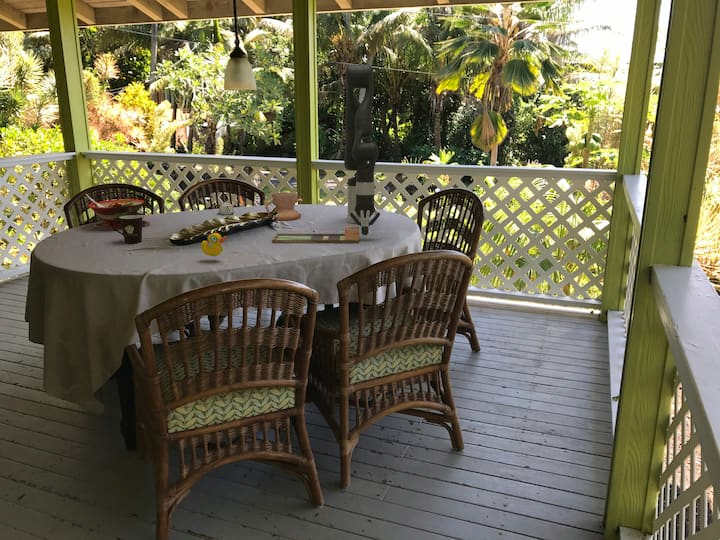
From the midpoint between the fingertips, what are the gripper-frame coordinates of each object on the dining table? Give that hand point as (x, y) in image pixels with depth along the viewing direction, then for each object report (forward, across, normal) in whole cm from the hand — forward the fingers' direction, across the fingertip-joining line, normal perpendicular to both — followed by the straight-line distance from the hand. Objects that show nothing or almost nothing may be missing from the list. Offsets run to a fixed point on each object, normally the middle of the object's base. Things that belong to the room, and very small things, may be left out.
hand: (364, 235), depth 237 cm
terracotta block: (+2, +5, 0) cm, 6 cm away
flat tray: (+2, +19, 0) cm, 19 cm away
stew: (+2, +111, -25) cm, 114 cm away
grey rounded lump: (+2, +68, -51) cm, 85 cm away
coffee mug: (+2, +95, +3) cm, 95 cm away
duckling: (+2, +55, +30) cm, 62 cm away
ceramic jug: (+2, +38, -42) cm, 57 cm away
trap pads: (+2, +19, 0) cm, 19 cm away
